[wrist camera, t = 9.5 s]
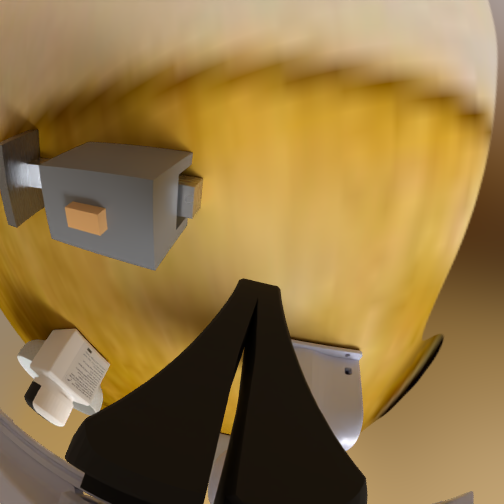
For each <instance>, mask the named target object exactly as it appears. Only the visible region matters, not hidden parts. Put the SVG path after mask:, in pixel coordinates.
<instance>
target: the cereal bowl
mask: <svg viewBox="0 0 504 504" xmlns="http://www.w3.org/2000/svg"><path fill="white" fill-rule="evenodd" d="M44 342H45V340H38V339H37V340H32V341H29V342H28V343H26V344H25V345H24V347H23V348H22V349H21V350H20V352H19V354H18V356H17V358H18V361H19V362H20V364H21V365H22V367H23V368H24V369H25V370H26V371H27V372H28V374H29V375H30V376H32V378H33V379H34V378H35V377H38V375H37V374H36V373H35V372H34V371H33V370H32V369H31V368H30V364H31V362H32V361H33V359H34V357H35V356H36V354H37V353H38V351H39V350H40V348H41V347H42V345H43V344H44ZM102 401H103V393H102V389H101V386H100V385H99V387H98V389H97V391H96V393H95V395H94V397H93V399H92V401H91V404H90V405H89V406H86V405H83V404H80V403H77V402H74V401H73V403H72V404H73V405H74V406H73V408H74V409H77V410H78V411H81V412H83V413H85V414H88V415H93V414H95V413H97V412H99V411H100V408H101V405H102Z"/></svg>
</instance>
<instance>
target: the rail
mask: <svg viewBox="0 0 504 504" xmlns="http://www.w3.org/2000/svg"><path fill="white" fill-rule="evenodd" d="M48 160H50V159H49V158H40V152H39V137H38V130H28V131H26V132H23V133H21V134H18V135H16V136H13V137H11V138H9V139H7V140H4V141H2V142H0V191H1V196H2V200H3V205H4V209H5V213H6V217H7V221H8V225H11V226H14V227H16V228H17V227H18V226H20V225H21V224H22V223H23V222H25V221H26V220H27V219H29V218H30V217H31V216H33V215H34V214H35V213H37V212H38V211H39V210H41V209H42V208H43V207H45V205H44V199H43V193H42V187H41V180H40V172H39V165H40V164H42V163H44V162H46V161H48ZM202 184H203V178H198V177H192V176H186V175H181V174H179V180H178V196H177V216H181V217H186V218H191V219H192V218H193V217H194V216H195V214H196V213H197V212H198V210H199V209H200V204H201V194H202Z"/></svg>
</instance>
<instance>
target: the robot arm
mask: <svg viewBox="0 0 504 504" xmlns="http://www.w3.org/2000/svg"><path fill="white" fill-rule="evenodd" d="M244 347H245V348H244ZM243 350H244V356H243V364H242V373H241V381H240V390H239V398H238V404H237V410H236V414H235V419H234V423H233V427H232V432H231V436H230V440H229V444H228V449H227V450H226V451H225V452H224V453H223V454H221V455H220V456H219V457H218V458H217V460H216V462H215V463H214V466H213V461H214V457H215V453H216V448H217V444H218V440H219V435H220V431H221V427H222V423H223V418H224V414H225V410H226V405H227V401H228V397H229V392H230V388H231V385H232V382H233V379H234V376H235V373H236V370H237V367H238V365H239V362H240V359H241V356H242V353H243ZM361 357H362V352H361V351H359V350H352V349H345V348H339V347H332V346H326V345H320V344H315V343H309V342H303V341H298V340H293V339H291V337H290V334H289V330H288V327H287V323H286V319H285V315H284V310H283V305H282V300H281V292H280V289H279V287H278V286H273V285H269V284H265V283H260V282H256V281H252V280H248V279H241V280H239V282H238V284H237V286H236V288H235V290H234V292H233V293H232V295H231V296H230V298H229V299H228V301H227V302H226V304H225V305H224V306H223V308H222V309H221V310H220V311H219V313H218V314H217V315H216V316H215V318H214V319H213V320H212V321H211V323H210V324H209V325H208V326H207V327H206V328H205V329H204V330H203V332H202V333H201V334H200V335H199V336H198V337H197V338H196V339H195V340H194V341H193V342H192V343H191V344H190V345H189V346H188V347H187V348H186V349H185V350H184V351H183V352H182V353H181V354H180V355H179V356H178V357H176V358H175V359H174V360H173V361H172V362H171V363H170V364H168V365H167V366H166V367H165V368H164V369H162V370H161V371H160V372H159V373H157V374H156V375H155V376H154V377H152V378H151V379H150V380H148V381H147V382H145V383H144V384H143V385H141V386H140V387H138V388H137V389H135V390H134V391H132V392H131V393H129V394H128V395H126V396H125V397H123V398H122V399H120V400H118V401H117V402H115V403H113V404H111V405H110V406H108V407H106V408H104V409H102V410H100V411H99V412H97V413H95V414H93V415H91V416H89V417H87V418H86V419H85V420H84V421H83V423H82V424H81V426H80V427H79V428H78V430H77V432H76V433H75V434H74V436H73V438H72V441H71V443H70V445H69V448H68V450H67V452H66V455H65V459H66V460H67V462H66V461H65V460H63V459H61V458H60V457H58V456H57V455H55V454H53V453H52V452H51V451H49V450H48V449H46V448H45V447H44V446H42V445H41V444H39V443H38V442H37V441H35V440H34V439H33V438H31V437H30V436H29V435H28V434H26V433H25V432H24V431H22V430H21V429H20V428H19V427H18V426H17V425H15V424H14V423H13V420H12V419H11V418H10V417H8V416H7V415H6V414H5V413H4V412H3V411H2V410H1V409H0V503H1V504H203V503H204V499H205V495H206V491H207V487H208V497H209V501H210V504H367V485H366V478H365V476H364V475H363V474H362V472H361V471H360V470H359V469H358V467H357V466H356V465H355V464H354V462H353V461H352V460H351V458H350V457H349V456H348V454H347V453H346V451H347V450H348V449H350V448H351V447H352V446H353V445H354V443H355V442H356V441H357V439H358V437H359V434H360V431H361V427H362V421H363V401H362V388H361V377H360V367H359V360H360V358H361ZM68 462H69V463H70V464H69V463H68ZM212 466H213V468H212ZM211 470H212V471H211ZM209 478H210V479H209ZM208 483H209V485H208ZM83 492H85V493H87V494H89V495H91V496H93V497H91V496H87V495H84V494H83ZM434 504H473V492H472V491H471V492H468V493H465V494H462V495H460V496H457V497H455V498H452V499H449V500H445V501H441V502H437V503H434Z"/></svg>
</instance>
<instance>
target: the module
mask: <svg viewBox="0 0 504 504" xmlns="http://www.w3.org/2000/svg"><path fill="white" fill-rule="evenodd" d="M192 155H193V152H186V151H179V150H172V149H164V148H156V147H147V146H138V145H127V144H115V143H101V142H88V143H85V144H83V145H80V146H78V147H76V148H73V149H71V150H69V151H67V152H65V153H62V154H60V155H58V156H56V157H54V158H52V159H50V160H48V161H46V162H44V163H42V164H40V165H39V172H40V180H41V187H42V193H43V199H44V205H45V210H46V215H47V220H48V224H49V229H50V233H51V237H52V239H54V240H57V241H60V242H63V243H66V244H69V245H72V246H75V247H79V248H82V249H85V250H88V251H91V252H94V253H97V254H101V255H104V256H107V257H110V258H114V259H117V260H120V261H124V262H127V263H130V264H134V265H137V266H141V267H144V268H148V269H151V270H156V269H157V267H158V266H159V264H160V263H161V261H162V260H163V258H164V257H165V256H166V254H167V253H168V251H169V250H170V248H171V247H172V246H173V244H174V243H175V241H176V240H177V239H178V237H179V236H180V234H181V233H182V232H183V230H184V229H185V227H186V226H187V218H186V217H181V216H177V196H178V180H179V174H180V173H181V172H183V171H184V170H185V169H186V168H188V167H189V166H190V165H191V164H192Z"/></svg>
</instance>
